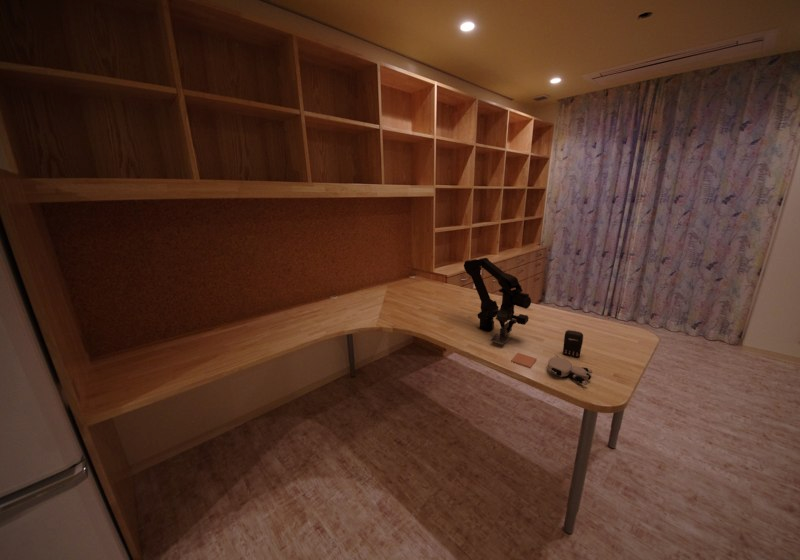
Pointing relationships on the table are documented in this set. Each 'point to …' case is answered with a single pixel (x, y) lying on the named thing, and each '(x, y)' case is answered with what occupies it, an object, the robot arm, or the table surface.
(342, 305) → the table surface
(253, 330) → the table surface
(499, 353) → the table surface
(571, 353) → the battery charger
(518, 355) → the tile
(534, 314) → the table surface
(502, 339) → the turner
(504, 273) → the robot arm
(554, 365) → the robot toy
